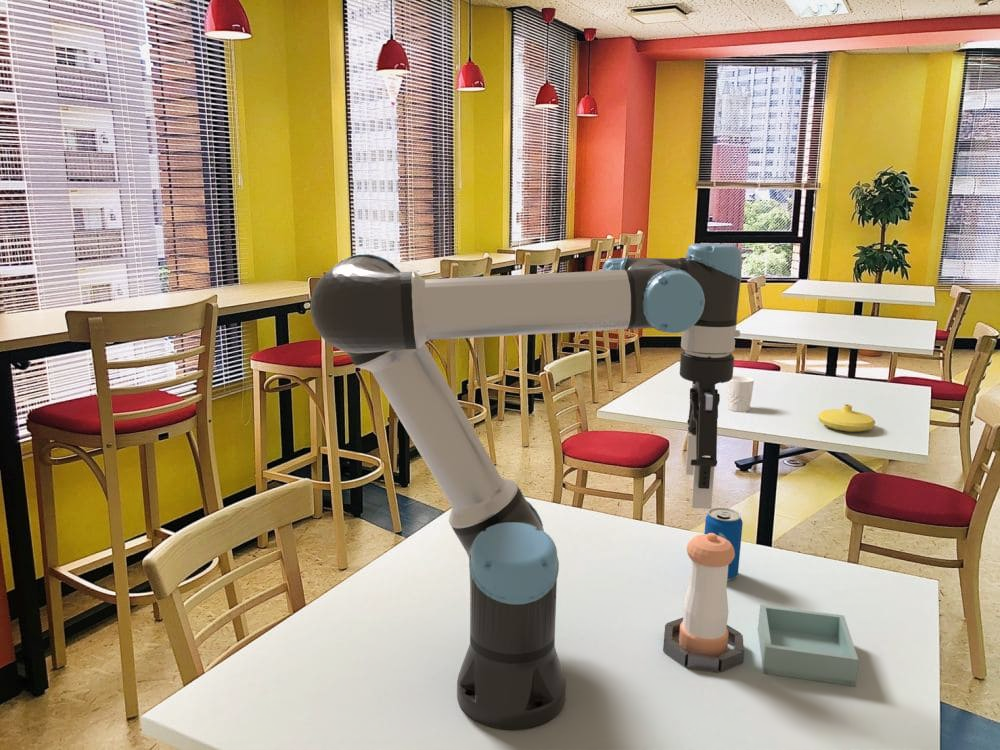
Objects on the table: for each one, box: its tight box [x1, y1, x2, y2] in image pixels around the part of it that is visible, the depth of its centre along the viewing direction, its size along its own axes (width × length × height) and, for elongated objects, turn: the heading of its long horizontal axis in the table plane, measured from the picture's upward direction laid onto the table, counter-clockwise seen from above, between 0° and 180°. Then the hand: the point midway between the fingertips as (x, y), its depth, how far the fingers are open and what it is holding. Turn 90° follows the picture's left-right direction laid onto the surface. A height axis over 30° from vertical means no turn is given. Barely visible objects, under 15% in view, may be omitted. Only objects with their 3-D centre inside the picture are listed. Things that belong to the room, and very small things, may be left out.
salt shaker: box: [678, 533, 735, 656], centre depth 124 cm, size 7×7×19 cm
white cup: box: [726, 375, 755, 413], centre depth 259 cm, size 8×8×10 cm
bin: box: [757, 604, 859, 687], centre depth 124 cm, size 13×13×4 cm
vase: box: [817, 403, 876, 433], centre depth 241 cm, size 16×16×7 cm
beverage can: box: [704, 507, 744, 582], centre depth 149 cm, size 6×6×12 cm
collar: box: [662, 617, 745, 673], centre depth 126 cm, size 12×12×2 cm
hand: (697, 490), depth 123 cm, fingers open, 13 cm apart
